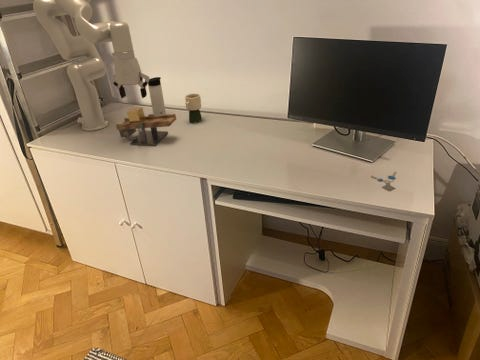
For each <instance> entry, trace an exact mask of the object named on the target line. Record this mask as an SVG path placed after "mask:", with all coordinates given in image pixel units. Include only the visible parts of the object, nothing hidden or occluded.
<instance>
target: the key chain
mask: <svg viewBox="0 0 480 360" xmlns="http://www.w3.org/2000/svg"><path fill="white" fill-rule="evenodd" d="M396 173H397V171H394V172H393V174H392V175H388V177H387V178H388V179H385V180H384V179H383V178H381V177H380V178H379V177H378V176H373V175H370V177H371V178H373V179H375V180H377V181H378V182H381V183H382V182H383V184H384V186H381V188H382V189H383V190H385V191H387V192H392V191H394V190H396V189H397V188H396V187H394V186H392V185H391V183H392V182H394V180H396V179H397V178H396V177H395V175H397V174H396ZM389 179H390V180H389Z"/></svg>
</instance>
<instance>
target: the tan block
mask: <svg viewBox="0 0 480 360" xmlns="http://www.w3.org/2000/svg"><path fill="white" fill-rule="evenodd" d="M126 115H127V118H129V121H130V123H138V122H144V121H146V119H145V116H146V115H145V111H144V109H143V107H132V108H131V109H128V111H126Z"/></svg>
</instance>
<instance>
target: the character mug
mask: <svg viewBox="0 0 480 360" xmlns="http://www.w3.org/2000/svg"><path fill="white" fill-rule="evenodd" d="M184 97H185V108H186V110H189V111H188V121H189V122H190V123H199V122H202V121H203V120H202V119H203V117H202V114H201V110H200V109H201V108H202V100H201V99H202V98H201V94H199V93H189V94H186V95H185V96H184Z"/></svg>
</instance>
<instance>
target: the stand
mask: <svg viewBox="0 0 480 360" xmlns="http://www.w3.org/2000/svg"><path fill="white" fill-rule="evenodd" d="M148 116H154V114H153V113H152V114H151V113H150V114H148ZM137 125H138V133H139V134H138V135H137V136H136V137H135V138H134V139H133V140H132V141H131V142H130V143H129V145H130V146H139V147H157V146H158V145H159V144H160V142H161V143H162V141H163V140H164V139H165V137H167V135H169V131H167V130H166V131H164V130H163V131H162V130H158V127H153V128H150V130H146V128H145V127H144V123H138V124H137Z"/></svg>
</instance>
